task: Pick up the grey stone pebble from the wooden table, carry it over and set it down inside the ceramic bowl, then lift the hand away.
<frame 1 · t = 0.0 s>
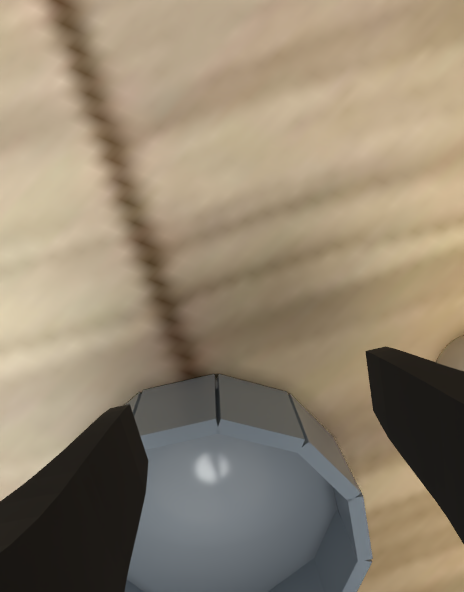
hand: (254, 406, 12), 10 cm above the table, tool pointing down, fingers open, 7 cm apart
bowl: (211, 497, 25), on the table
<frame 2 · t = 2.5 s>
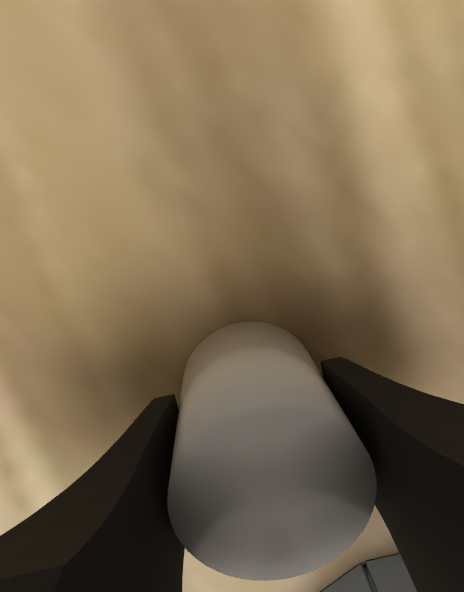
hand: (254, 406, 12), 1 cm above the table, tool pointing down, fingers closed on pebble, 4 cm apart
pebble: (249, 383, 13), on the table, touching gripper
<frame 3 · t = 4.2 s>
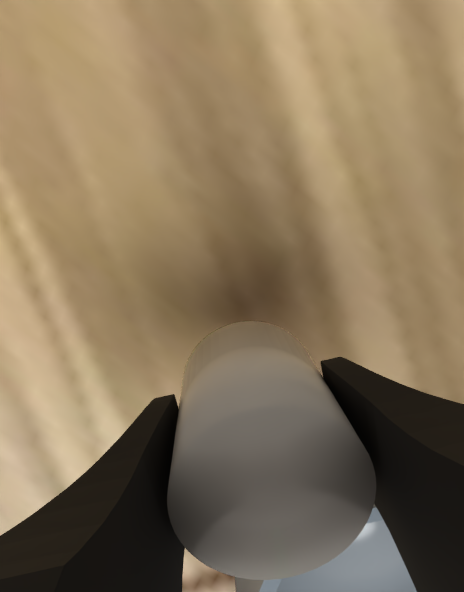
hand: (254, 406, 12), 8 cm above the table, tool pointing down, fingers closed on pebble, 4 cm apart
bowl: (371, 552, 24), on the table
pebble: (249, 383, 13), point 7 cm above the table, touching gripper
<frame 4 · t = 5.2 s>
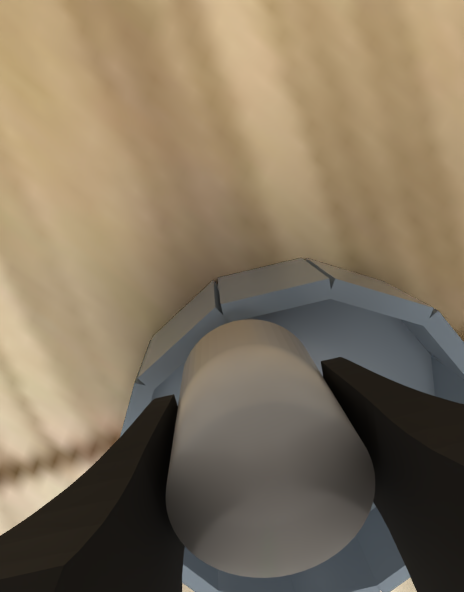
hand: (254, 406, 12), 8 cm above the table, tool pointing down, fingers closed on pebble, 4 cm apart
bowl: (290, 412, 21), on the table
pebble: (248, 382, 13), point 7 cm above the table, touching gripper
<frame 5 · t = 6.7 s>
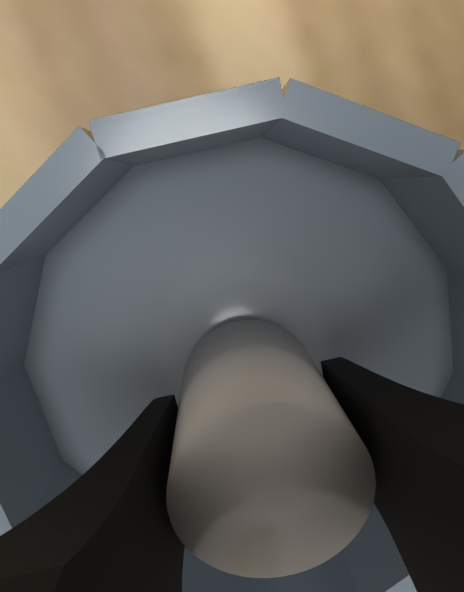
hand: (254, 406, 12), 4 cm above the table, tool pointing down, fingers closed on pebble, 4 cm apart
bowl: (244, 356, 15), on the table
pebble: (248, 382, 13), point 2 cm above the table, touching gripper
when the fingers open (3 cm above the table, at t = 7.6 s): pebble stays where it is, resting on bowl.
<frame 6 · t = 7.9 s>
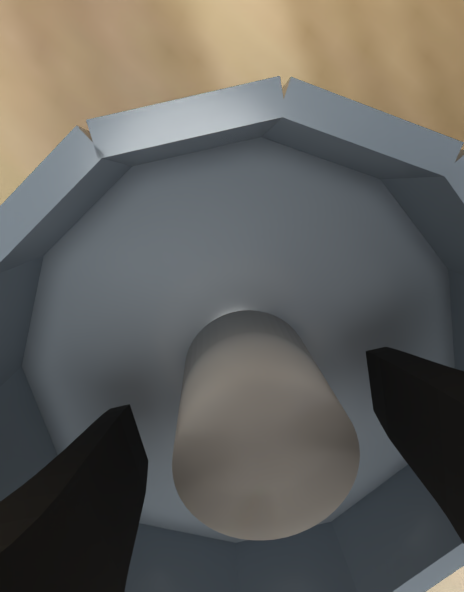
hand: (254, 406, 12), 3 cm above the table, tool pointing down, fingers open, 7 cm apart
bowl: (244, 358, 15), on the table
pebble: (246, 369, 14), point 1 cm above the table, touching bowl
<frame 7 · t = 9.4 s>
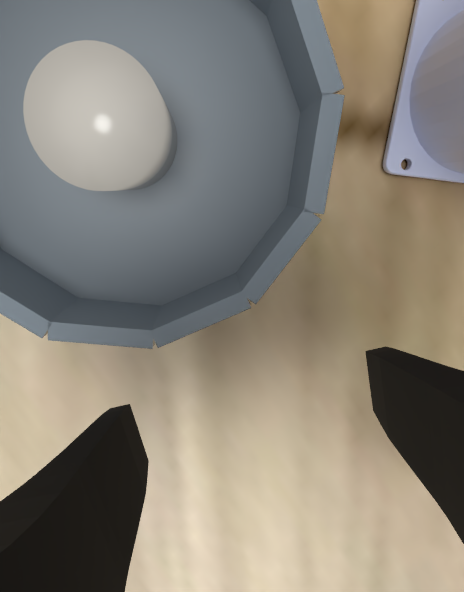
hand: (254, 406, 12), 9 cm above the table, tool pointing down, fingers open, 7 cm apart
bowl: (131, 141, 18), on the table
pebble: (127, 138, 17), point 1 cm above the table, touching bowl
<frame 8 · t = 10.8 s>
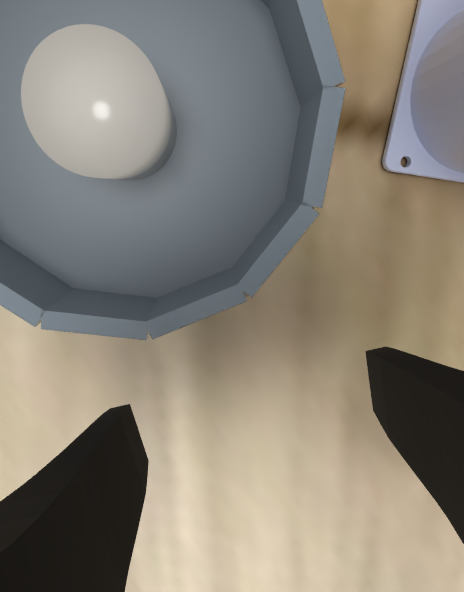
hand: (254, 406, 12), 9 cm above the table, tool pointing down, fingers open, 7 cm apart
bowl: (130, 132, 18), on the table
pebble: (126, 128, 17), point 1 cm above the table, touching bowl
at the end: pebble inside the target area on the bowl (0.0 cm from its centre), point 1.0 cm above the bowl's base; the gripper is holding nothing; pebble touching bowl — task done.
